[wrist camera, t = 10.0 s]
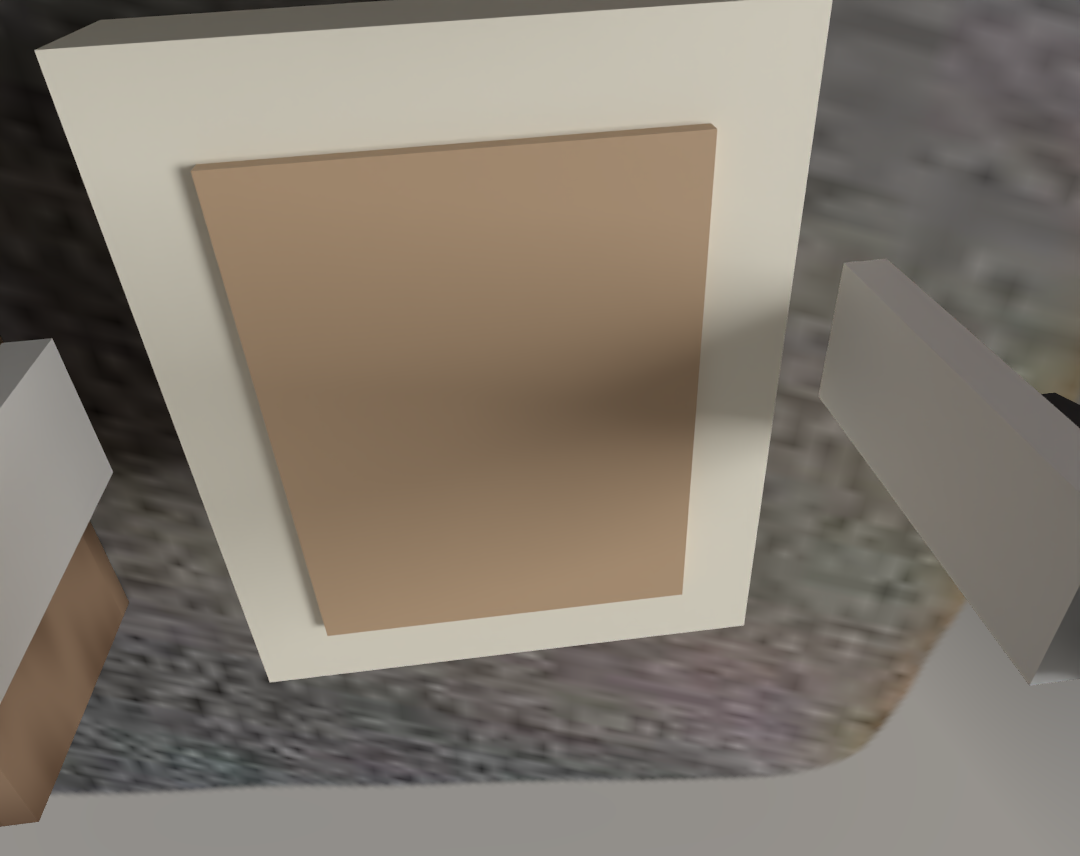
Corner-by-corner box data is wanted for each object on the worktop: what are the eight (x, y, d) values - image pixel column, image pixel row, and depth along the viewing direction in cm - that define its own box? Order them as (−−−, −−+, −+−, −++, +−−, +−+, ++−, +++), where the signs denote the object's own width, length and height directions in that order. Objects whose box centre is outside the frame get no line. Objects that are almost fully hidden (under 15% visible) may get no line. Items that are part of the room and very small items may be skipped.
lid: (100, 19, 12) (23, 54, 10) (769, -26, 12) (843, -3, 10) (286, 596, 19) (267, 694, 16) (712, 548, 19) (748, 636, 17)
